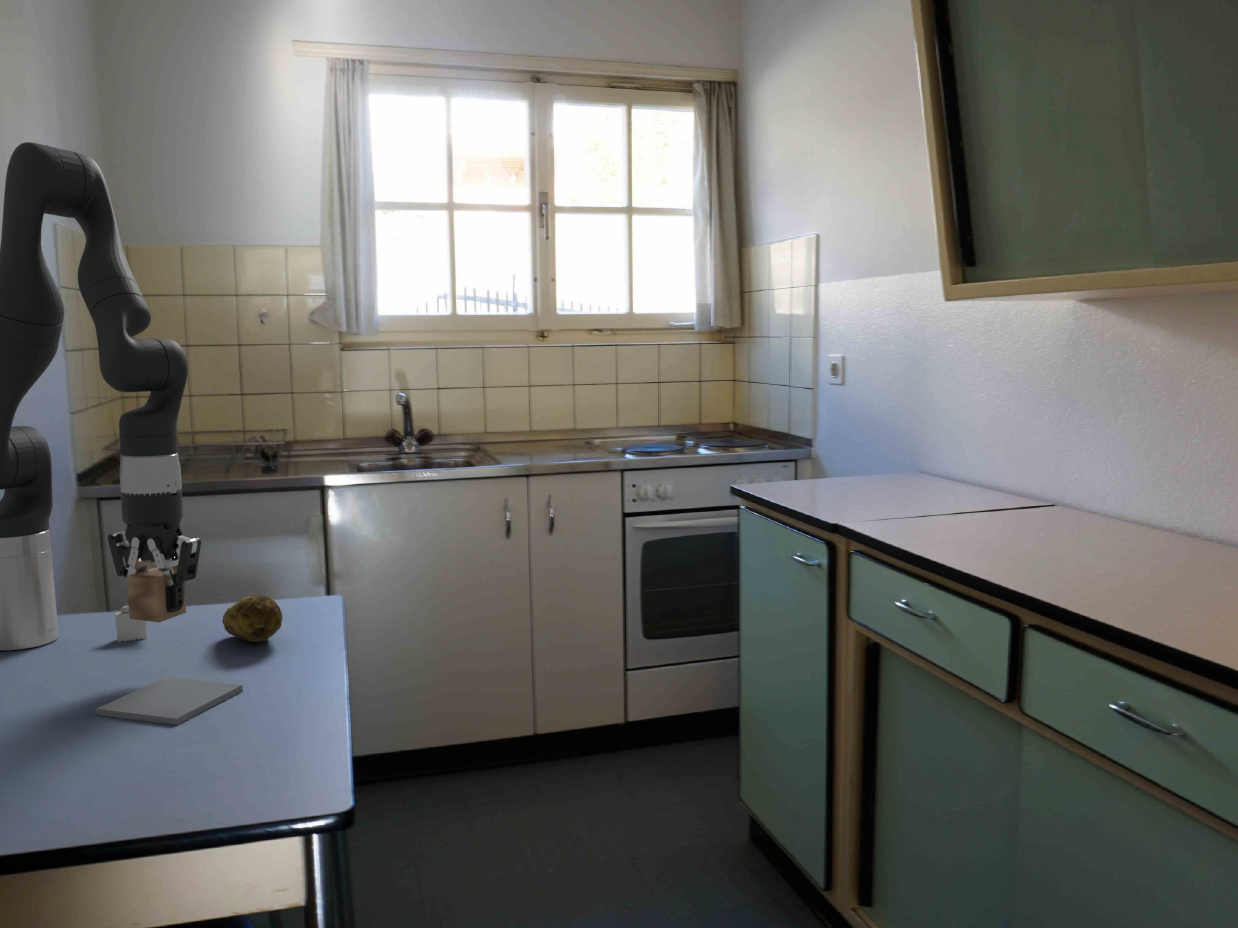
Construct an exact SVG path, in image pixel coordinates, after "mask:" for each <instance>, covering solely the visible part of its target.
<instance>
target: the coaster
mask: <svg viewBox="0 0 1238 928" xmlns="http://www.w3.org/2000/svg"><path fill="white" fill-rule="evenodd" d="M243 688H244V687H243V685H242V684H237V683H227V682H217V681H210V680H209V681H208V680H201V679H191V678H183V677H173V676H166V677H164V678H162V679H159V680H158V681H154V682H153V683H152V682H151V684H148V685H146V686H144V687H142V688H139V689H137V690H135V691H133V692H130V693H128V694H125V695H124V696H122V697H120V698H117V699H115V700H113V701H110V702H108V703H106V704H104V705H101V706H99V707H97V708H96V716H103V717H110V718H112V717H113V718H117V719H127V720H132V721H133V720H135V721H143V722H150V723H157V724H167V725H174V726H178V725H179V724H182V723H183V722H185V721H188V720H190V719H191V718H194V717H195V716H197V715H199V714H202V713H203V712H204V711H207V710H208V709H211V708H212V707H214V706H217V705H219V704H220V703H222V702H224V701H225V700H228V699H229V698H232V697H234V696H236V695H238V694H240V693H242V692H243V691H244V689H243Z"/></svg>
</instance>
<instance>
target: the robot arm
mask: <svg viewBox="0 0 1238 928" xmlns="http://www.w3.org/2000/svg"><path fill="white" fill-rule="evenodd" d="M5 174H6V175H5V183H4V184H5V185H4V194H3V195H4V196H3V209H2V225H1V237H0V490H4V491H3V496H2V498H1V499H0V651H16V650H17V651H18V650H25V649H30V648H36V647H40V646H44V645H47V644H49V643H52V642H54V641H56V640H57V639H58V638H59V628H58V625H59V624H58V615H57V601H56V592H55V591H56V590H55V579H54V569H53V568H54V567H53V566H54V565H53V557H52V556H53V555H52V554H53V553H52V544H51V534H50V517H51V514H52V511H53V505H54V504H53V501H54V500H53V469H52V467H53V466H52V456H51V450H50V446H49V443H48V442H47V440H46V438H45V436H44V434H42V432H41V431H39V430H38V429H37V428H35V427H33V426H29V425H17V426H16V425H15V426H13V421H14V418H15V415H16V412H17V410H18V407H19V406H20V404H21V402H22V400H23V398H24V397H25V396H26V395H27V393H29V391H30V389H31V388H32V387H33V386H34V385H35V383H37V381H38V380H39V379H40V378H41V376H42V375H43V374H44V373H45V371H46V370H47V368H49V366H50V364H51V363H52V362H53V360H54V358H55V357H56V354H57V352H58V350H59V345H60V340H61V335H62V334H61V333H62V330H63V324H64V319H65V318H64V317H65V307H64V306H65V305H64V301H63V298H62V296H61V293H60V291H59V288H58V286H57V283H56V282H55V280H54V277H53V275H52V273H51V271H50V270H49V267H48V265H47V262H46V260H45V256H44V253H43V247H42V226H43V221H44V216H45V214H46V215H51V216H56V217H63V218H68V219H69V218H70V219H74V220H75V221H76V222H77V224H78V225H79V226H80V229H81V230H82V232H83V233H84V236H85V245H84V249H83V251H82V254H81V257H80V260H79V265H78V268H77V283H78V289H79V291H80V294H81V297H82V299H83V301H84V303H85V306H86V309H87V310H88V312H89V315H90V317H91V319H92V321H93V323H94V328H95V333H96V334H95V335H96V340H97V341H96V342H97V348H98V349H97V350H98V362H99V370H100V371H99V372H100V374H101V377H102V378H103V380H104V381H105V383H106V384H107V385H108V386H110V387H111V389H114V390H116V391H117V392H121V393H140V392H141V393H142V392H144V393H145V392H149V396H148V399H147V401H146V402H145V404H144V405H142V406H140V407H138V408H134V409H131V410H128V411H126V412H124V413H122V414H121V415H120V417H119V420H118V429H119V430H118V431H119V433H118V434H119V450H120V464H119V465H120V466H119V487H120V505H121V506H120V507H121V520H122V522H123V524H125V525H126V527H125V530H123V531H118V532H114V533H110V534H108V536H107V541H108V544H109V545H108V546H109V549H110V553H111V557H112V561H113V566H114V568H115V573H116V575H117V576H118V577H124V578H126V579H127V576H128V575H132V574H137V573H139V572H142V571H147V570H149V569H150V566H151V565H152V564H153V563H155V565H156V568H158V570H159V571H161V572H162V574H163V577H164V579H165V582H166V584H167V586H165V591H166V610H167V612H171V613H173V612H176V611H179V610H180V609H181V608H182V606H183V604H184V599H183V598H184V597H183V583H184V582H185V583H186V582H187V581H190V580H194V579H196V577H197V572H198V565H199V559H200V553H201V547H202V546H201V545H202V540H201V539H200V538H199V537H194V538H191V537H188V536H185V535H184V534H183V531H182V529H181V521H182V519H183V518H184V508H183V503H184V502H183V486H182V485H183V484H182V483H183V481H182V468H181V464H180V459H179V458H180V457H179V453H178V452H179V451H178V450H179V448H178V447H179V446H178V445H179V444H178V426H177V424H178V418H179V415H180V411H181V410H180V409H181V405H182V400H183V396H184V392H185V389H186V384H187V381H188V376H189V363H188V362H189V360H188V358H187V354H186V353H185V351H184V349H183V348H182V346H181V345H180V344H179V343H177V342H176V341H175V340H173V339H168V338H132V337H135V336H137V335H139V334H142V332H144V331H145V330H146V329H148V327H149V326H150V324H151V321H152V316H151V315H152V314H151V312H150V308H149V306H148V303H147V301H146V299H145V297H144V295H143V293H142V291H141V289H140V287H139V284H138V282H137V280H136V278H135V276H134V274H133V272H132V270H131V267H130V265H129V262H128V260H127V256H126V253H125V250H124V246H123V242H122V238H121V233H120V230H119V227H118V226H119V225H118V222H117V219H116V213H115V211H114V208H113V204H112V200H111V195H110V192H109V188H108V186H107V183H106V179H105V176H104V174H103V171H102V170H101V168H100V165H98V163H97V162H96V161H95V160H94V159H93V158H91V156H88V155H86V154H82V153H80V152H76V151H72V150H67V149H63V148H58V147H53V146H49V145H47V144H46V145H45V144H41V143H37V142H31V141H30V142H29V141H26V142H22V143H20V144H18V145H17V146H15V149H14V150H13V151H12V154H11V156H10V158H9V161H8V165H7V169H6V173H5ZM123 559H124V560H123ZM169 560H171V561H169ZM124 561H125V562H124ZM167 561H168V562H167ZM124 563H125V564H124ZM171 569H172V570H173V572H174V574H175V576H173V573H172V570H171Z"/></svg>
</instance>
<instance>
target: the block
mask: <svg viewBox="0 0 1238 928" xmlns="http://www.w3.org/2000/svg"><path fill="white" fill-rule="evenodd" d="M171 570H172V573H173V576H175V574H174V572H173V569H172V568H171ZM126 580H127V581H126V582H127V598H128V601H127V602H128V605H129V619H134V620H143V621H146V622H153V623H162V622H164V621H167V620H170V619H172V618H176V617H178V616H181V615H184V614H186V613H187V607H186V606H187V605H186V585H185V583H186V581H185V582H184V583H183V597H184V598H183V599H184V604H183V606H182V608H181V609H180V610H179V611H176V612H173V613H171V612H167V610H166V591H165V586H167V584H166V582H165V579H164V577H163V574H162V572H161V571H159V570H158V568H157V567H154V568H149V570H147V571H142V572H139V573H137V574H132V575H128V576H127V578H126Z"/></svg>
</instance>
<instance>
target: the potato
mask: <svg viewBox="0 0 1238 928" xmlns="http://www.w3.org/2000/svg"><path fill="white" fill-rule="evenodd" d="M282 623H283V613H282V610H281V608H280V606H279V605H278V603H277V602H276V601H275V600H274V599H272V598H271V597H270V596H265V595H251V596H246V597H243V598H241V599H240V600H239V601H237V602H236V603H234V604H233V605H231V606H230V607H228V608H227V610H226V611H225V612H224V614H223V615H222V625H223V627H224V630H225V631H226V632H227V633H228V634H229V635H231V636H233V637H237V638H239V639H241V640H243V641H245V642H250V643H251V642H253V643H259V642H260V643H261V642H262V643H263V642H265V641H267V640H269V639H270V638H272V637H273V636H274V635H275V634H276V633H277V632H278V631H279V630H280V628H281V627H282Z"/></svg>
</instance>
